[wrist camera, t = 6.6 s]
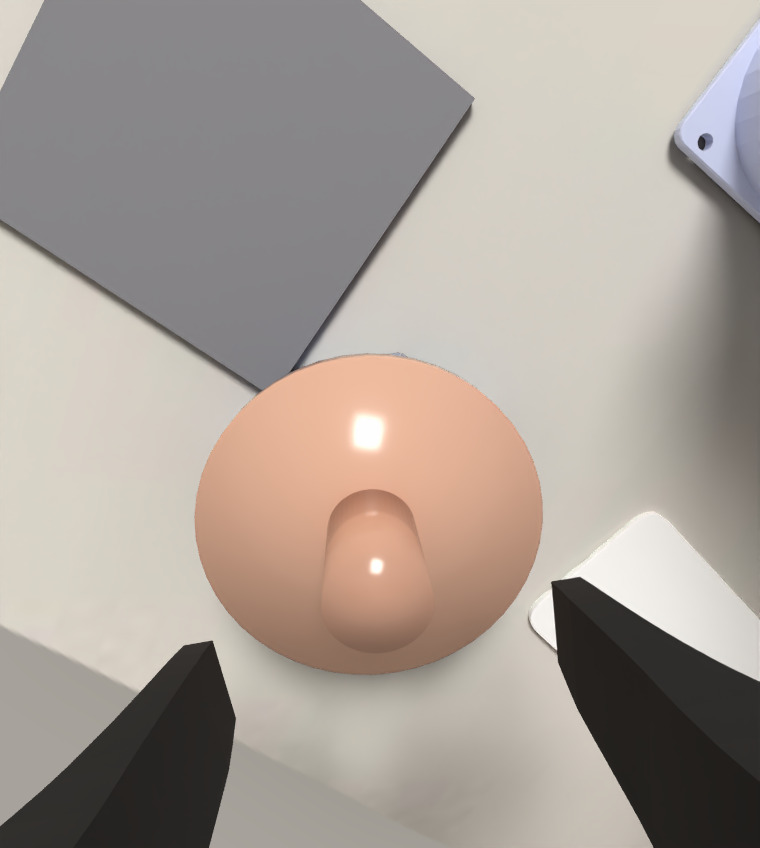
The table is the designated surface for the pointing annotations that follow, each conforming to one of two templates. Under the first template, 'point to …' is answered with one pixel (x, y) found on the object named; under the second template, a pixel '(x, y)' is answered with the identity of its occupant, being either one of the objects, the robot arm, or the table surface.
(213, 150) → the mat
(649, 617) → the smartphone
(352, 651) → the lid
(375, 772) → the table surface
